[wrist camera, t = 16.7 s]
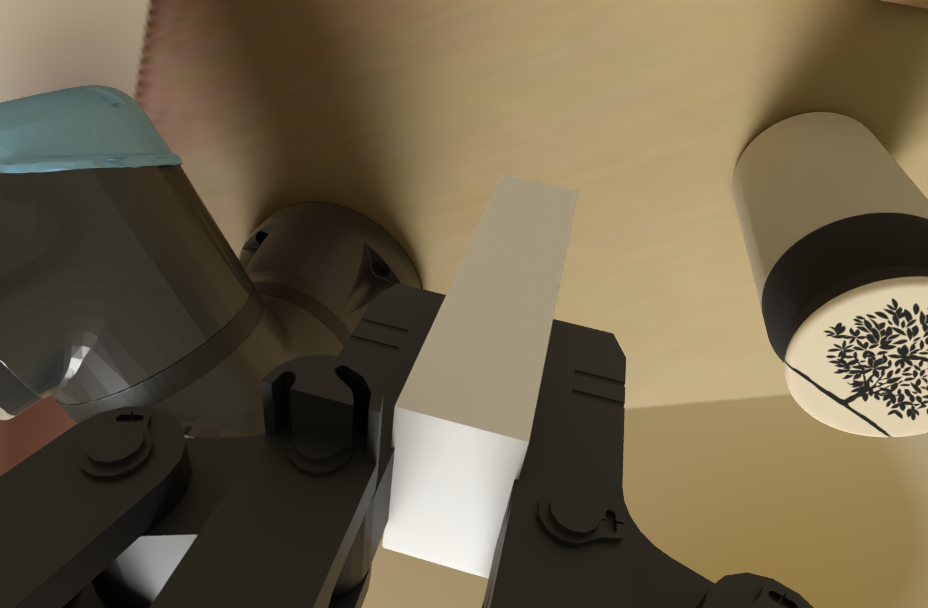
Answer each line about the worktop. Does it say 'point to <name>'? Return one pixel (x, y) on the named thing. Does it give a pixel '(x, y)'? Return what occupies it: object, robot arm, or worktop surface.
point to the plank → (911, 2)
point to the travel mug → (840, 271)
